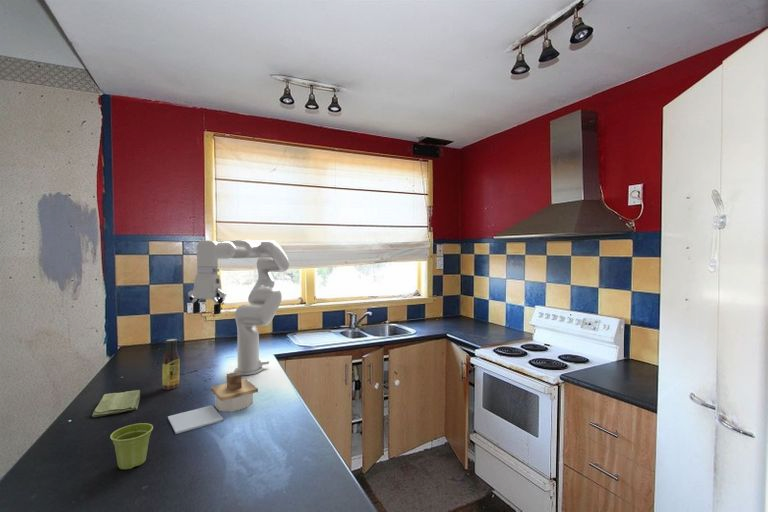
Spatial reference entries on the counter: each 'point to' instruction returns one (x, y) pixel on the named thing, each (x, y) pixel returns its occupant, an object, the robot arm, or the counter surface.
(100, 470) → the counter surface
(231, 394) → the lid
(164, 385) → the sauce bottle
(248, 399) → the bowl
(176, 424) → the mat
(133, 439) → the plant pot
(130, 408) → the washcloth
